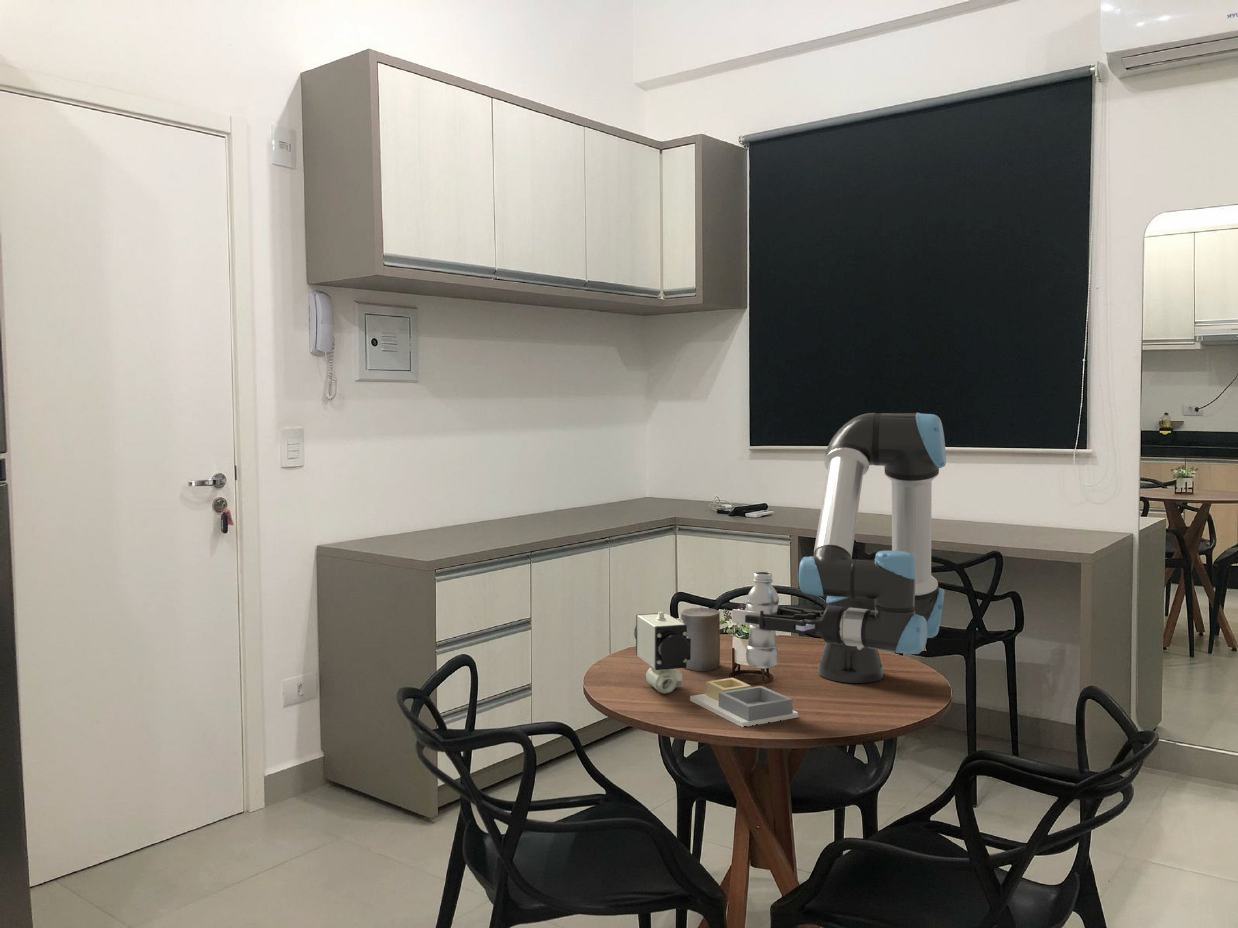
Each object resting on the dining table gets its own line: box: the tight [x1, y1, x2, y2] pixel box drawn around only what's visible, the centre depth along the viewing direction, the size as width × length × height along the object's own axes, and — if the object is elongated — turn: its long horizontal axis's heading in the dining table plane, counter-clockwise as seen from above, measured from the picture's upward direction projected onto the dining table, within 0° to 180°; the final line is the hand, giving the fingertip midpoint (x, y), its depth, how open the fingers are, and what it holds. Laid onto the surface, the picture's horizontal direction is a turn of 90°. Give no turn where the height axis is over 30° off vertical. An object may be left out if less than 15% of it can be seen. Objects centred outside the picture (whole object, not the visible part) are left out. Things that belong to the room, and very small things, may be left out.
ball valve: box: [633, 611, 691, 695], centre depth 223 cm, size 18×8×18 cm, turn 18°
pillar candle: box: [679, 607, 721, 672], centre depth 243 cm, size 10×10×15 cm
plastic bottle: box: [745, 571, 780, 670], centre depth 206 cm, size 6×7×20 cm
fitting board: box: [689, 677, 799, 728], centre depth 210 cm, size 14×20×4 cm
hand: (740, 613), depth 209 cm, fingers closed on plastic bottle, 6 cm apart
